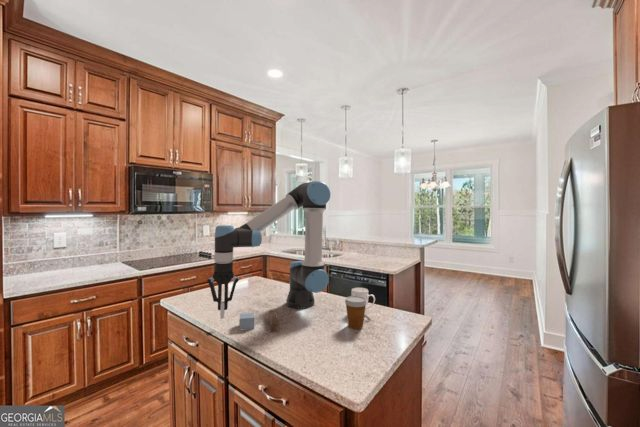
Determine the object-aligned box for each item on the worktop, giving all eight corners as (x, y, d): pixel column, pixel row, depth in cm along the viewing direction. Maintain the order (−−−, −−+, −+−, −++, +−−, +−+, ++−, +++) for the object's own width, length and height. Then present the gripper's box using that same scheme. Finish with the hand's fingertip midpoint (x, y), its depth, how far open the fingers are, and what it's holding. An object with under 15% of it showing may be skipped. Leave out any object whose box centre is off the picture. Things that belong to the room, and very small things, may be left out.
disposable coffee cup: (352, 332, 119) (352, 303, 119) (340, 324, 128) (340, 297, 127) (371, 328, 123) (371, 300, 123) (358, 320, 132) (358, 294, 132)
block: (254, 323, 127) (254, 312, 127) (254, 329, 121) (254, 317, 121) (240, 325, 126) (240, 313, 126) (239, 330, 120) (239, 318, 120)
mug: (348, 313, 141) (348, 290, 140) (355, 308, 148) (355, 286, 148) (371, 318, 134) (371, 294, 134) (377, 313, 142) (377, 290, 141)
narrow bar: (275, 317, 135) (275, 310, 135) (278, 331, 119) (278, 323, 119) (269, 318, 134) (269, 310, 134) (270, 332, 118) (271, 323, 118)
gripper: (240, 260, 127) (238, 313, 127) (208, 260, 124) (207, 315, 124) (239, 263, 119) (237, 319, 119) (205, 263, 116) (204, 321, 116)
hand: (222, 317), depth 122 cm, fingers closed
